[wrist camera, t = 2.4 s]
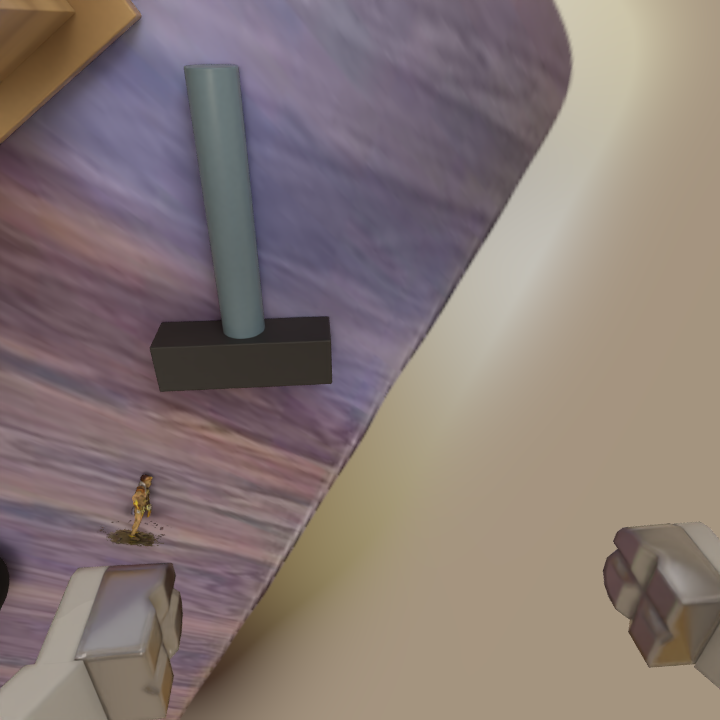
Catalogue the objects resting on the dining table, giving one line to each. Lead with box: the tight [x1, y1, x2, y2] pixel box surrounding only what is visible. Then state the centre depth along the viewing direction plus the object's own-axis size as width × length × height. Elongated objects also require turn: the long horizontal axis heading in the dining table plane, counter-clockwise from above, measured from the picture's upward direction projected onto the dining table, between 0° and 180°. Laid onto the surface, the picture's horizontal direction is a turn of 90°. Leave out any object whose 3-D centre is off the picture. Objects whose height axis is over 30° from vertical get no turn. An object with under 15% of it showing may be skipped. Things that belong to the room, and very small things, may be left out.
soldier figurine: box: [100, 475, 164, 546], centre depth 38 cm, size 2×1×4 cm
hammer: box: [150, 64, 332, 392], centre depth 28 cm, size 16×10×3 cm, turn 0°
